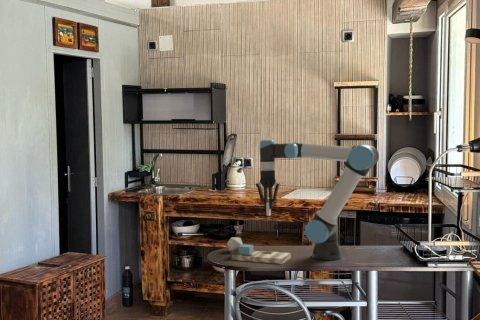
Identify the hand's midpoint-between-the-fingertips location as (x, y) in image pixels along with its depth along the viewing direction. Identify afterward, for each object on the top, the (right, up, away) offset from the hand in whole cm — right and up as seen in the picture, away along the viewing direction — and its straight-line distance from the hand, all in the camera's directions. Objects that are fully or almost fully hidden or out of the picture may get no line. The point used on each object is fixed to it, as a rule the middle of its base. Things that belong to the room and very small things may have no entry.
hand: (268, 215), depth 279 cm
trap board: (-4, -23, 0) cm, 23 cm away
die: (-17, -22, +18) cm, 33 cm away
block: (-12, -20, +3) cm, 24 cm away
